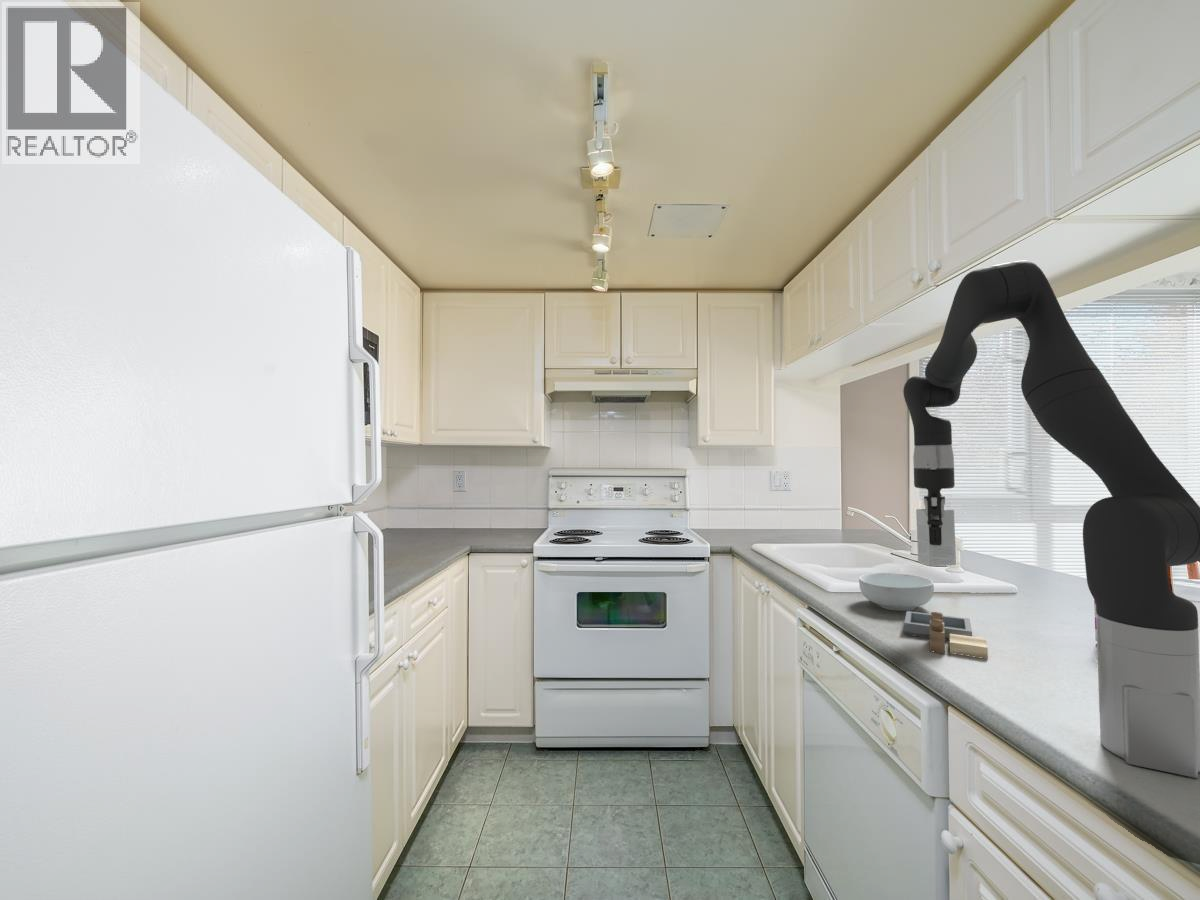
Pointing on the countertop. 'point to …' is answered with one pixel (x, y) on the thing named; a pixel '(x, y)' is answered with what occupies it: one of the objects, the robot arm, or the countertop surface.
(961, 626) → the tray
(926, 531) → the skincare box
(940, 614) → the stop bar
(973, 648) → the tan block
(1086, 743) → the countertop surface
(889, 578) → the cereal bowl
